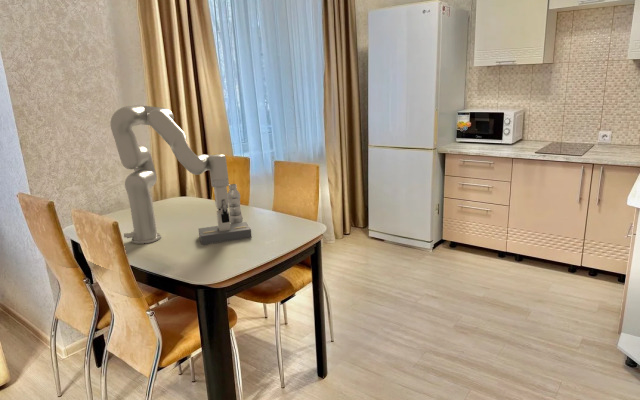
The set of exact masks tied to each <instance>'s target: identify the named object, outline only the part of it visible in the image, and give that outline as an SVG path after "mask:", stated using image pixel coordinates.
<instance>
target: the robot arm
mask: <svg viewBox="0 0 640 400" xmlns="http://www.w3.org/2000/svg"><path fill="white" fill-rule="evenodd" d="M174 116H175V115H174V113H173V112H172V111H171V110H170V109H168V108H165V107H158V106H148V105H140V104H137V105H135V104H134V105H127V106H122V107H119V109H117V110H116V111H115V112H114V113H113V114H112V116H111V119H110V122H109V124H110V129H111V133H112V137H113V139H114V143H115V146H116V149H117V153H118V157H119V159H120V162H121V164H122V167H123V168H125V169H127V170H133V172H132V173H129V175H128V176H127V177H126V178H125V181H124V188H125V191H126V194H127V197H128V202H129V208H130V214H131V220H132V227H133V231H131V232H126V233H123V237H124V238H125V239H131V243H133V244H137V245H142V244H144V243H145V244H150V243H153V242H157V241H159V240H160V239H161V238H162V234H161V233H158V232H157V224H156V218H155V216H156V215H155V210H154V209H155V208H154V203H153V202H154V201H153V198H152V195H151V193H150V192H151V191H150V189H151V188H153V187H154V186H155V185H156V183H157V179H158V176H157V172H156V169H155V165H154V162H153V158H152V155H151V152H150V150H149V149H148V148H146V147H145V146H143V145H142V144H140V145H139V144H138V142H137V141H138V139H137V137H136V134H135V133H134V130H132V129H133V128H132V127H134V126H136V127H137V126H140V125H142V126H143V125H145V126H150V128H152V129H153V131H155V132H156V133H157V134H158V136H160V137H161V138H162V140H163V141H165V142H166V144H168V146H169V147H170V149H171V151H172V153H173V155H174V156H175V158H176V160H177V161H178V162H179V163H180V165H182V167H184V169H186V171H188V172H189V173H190V174H192V175H196V176H197V175H202V174H203V173H205V172H206V171H209V176H210V183H211V188H213V190H214V191H213V193H214V205H215V207H216V209H217V211H220V210H221V213H222V214H221V218H222V223H226V222H229V213H228V211H229V209H228V208H229V203H228V194H227V193H228V187H229V185H230V182H229V173H228V165H227V157H226V155H225V154H219V153H218V154H204V153H203V154H202V153H201V154H196V153H195V152H194V151H193V150H192V148H191V147H190V146H189V144H188V141H187V136H186V133H185V131H183V129H181V127H180V126H179V125H178V124H177V123H176V122H175V121H174V119H175V117H174ZM222 209H223V210H222Z"/></svg>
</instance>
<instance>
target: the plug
mask: <svg viewBox="0 0 640 400" xmlns="http://www.w3.org/2000/svg"><path fill="white" fill-rule="evenodd" d="M222 210H223V209H222ZM228 213H229V210H228ZM221 214H222V213H221V210H220V211H218V210H216V217H217V219H216V220H217V226H218V231H224V230H231V228H230V224H231V223H230V218H229V222H226V223H222V218H221Z"/></svg>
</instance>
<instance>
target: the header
mask: <svg viewBox="0 0 640 400" xmlns="http://www.w3.org/2000/svg"><path fill="white" fill-rule="evenodd" d="M230 228H231V230H224V231H218V225H216V226H214V225H213V226H206V227H200V228H199V227H198V236H199V240H200V243H201V245H202V246H204V245H210V244H217V243H223V242H229V241H230V242H231V241H237V240H246V239H251V238H253V237H252V229H251V227H250V226H249V224H248V222H246V221H242V223H235V224H231V223H230Z"/></svg>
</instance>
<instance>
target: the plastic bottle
mask: <svg viewBox="0 0 640 400" xmlns="http://www.w3.org/2000/svg"><path fill="white" fill-rule="evenodd" d="M237 186H238V185H237V184H236V183H232V184H230V183H229V185H228V191H227V194H228V206H229V207H228V208H229V209H228V211H229V218H230V224H235V223H242V222H244V221H243V219H244V218H243V214H242V211H241V194H240V191H239V190H238V187H237Z"/></svg>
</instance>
